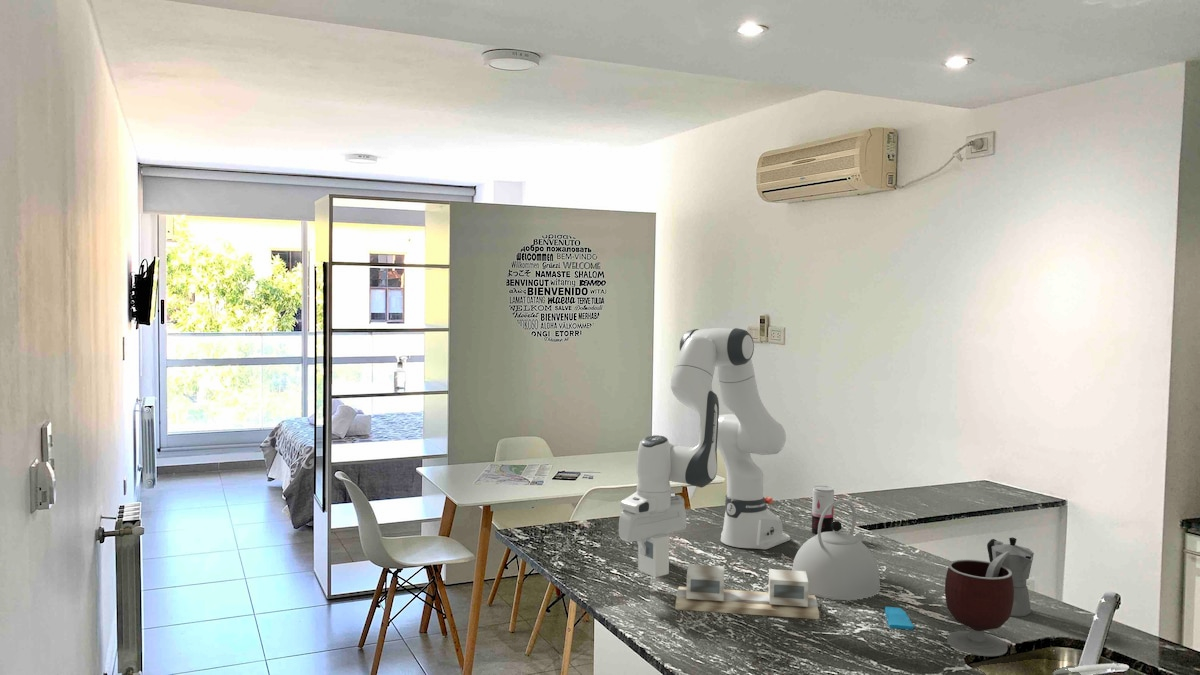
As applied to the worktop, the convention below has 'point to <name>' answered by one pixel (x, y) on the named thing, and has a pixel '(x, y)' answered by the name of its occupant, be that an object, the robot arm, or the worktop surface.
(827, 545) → the kettle
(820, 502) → the beverage can
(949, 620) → the worktop surface
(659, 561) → the block
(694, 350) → the robot arm
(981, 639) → the mate gourd
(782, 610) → the rail board
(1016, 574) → the coffeepot
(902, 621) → the sponge
